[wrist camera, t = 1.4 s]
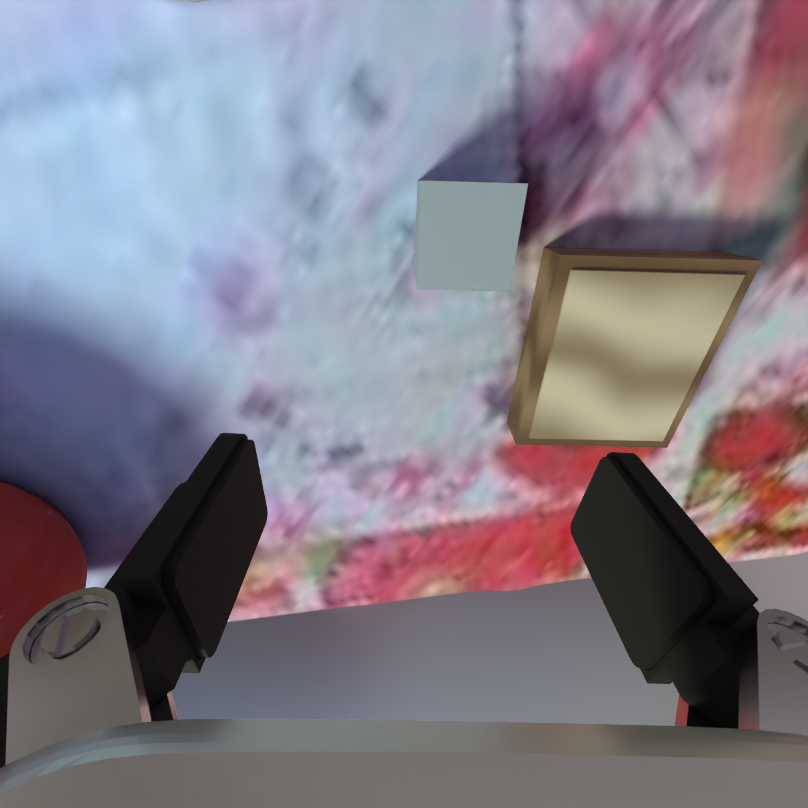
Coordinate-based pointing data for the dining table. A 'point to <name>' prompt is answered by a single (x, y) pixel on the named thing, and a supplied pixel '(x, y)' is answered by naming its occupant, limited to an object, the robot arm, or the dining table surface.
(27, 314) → the dining table surface
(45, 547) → the mixing bowl
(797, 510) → the dining table surface
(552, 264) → the plinth
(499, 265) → the block
